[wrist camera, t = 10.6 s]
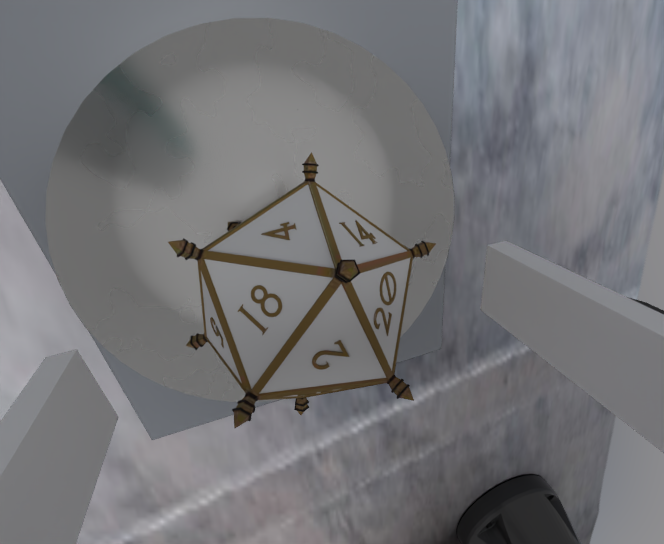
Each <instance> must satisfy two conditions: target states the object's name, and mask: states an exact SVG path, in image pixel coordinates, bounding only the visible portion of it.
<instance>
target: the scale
mask: <svg viewBox="0 0 664 544" xmlns="http://www.w3.org/2000/svg"><path fill="white" fill-rule="evenodd" d="M457 2H458V0H0V179H1V181H2V183H3V184H4V186H5V188H6V190H7V191H8V193H9V195H10V197H11V198H12V200H13V202H14V203H15V205H16V207H17V209H18V210H19V212H20V214H21V215H22V217H23V219H24V221H25V222H26V224H27V226H28V228H29V229H30V231H31V233H32V234H33V236H34V238H35V240H36V241H37V243H38V245H39V246H40V248H41V250H42V252H43V253H44V255H45V257H46V259H47V260H48V262H49V264H50V265H51V267H52V269H53V271H54V272H55V269H54V266H53V262H52V259H51V256H50V253H49V246H48V238H47V231H46V224H45V220H46V192H47V187H48V182H49V177H50V172H51V167H52V162H53V159H54V157H55V154H56V152H57V149H58V147H59V144H60V142H61V139H62V136H63V134H64V131H65V129H66V128H67V126H68V124H69V123H70V121H71V120H72V118H73V116H74V115H75V113H76V112H77V110H78V108H79V107H80V105H81V103H82V102H83V100H84V99H85V98H86V97H87V96H88V95H89V94H90V93H91V92H92V90H93V89H94V88H95V87H96V86H97V85H98V84H99V83H100V81H101V80H102V79H103V78H104V77H105V76H106V75H107V74H108V73H109V72H111V71H112V70H113V69H114V68H116V67H117V66H118V65H120V64H121V63H122V62H123V61H125V60H126V59H127V58H128V57H130V56H131V55H132V54H133V53H135V52H137V51H139V50H140V49H142V48H144V47H146V46H148V45H150V44H151V43H153V42H155V41H157V40H159V39H161V38H163V37H164V36H166V35H169V34H172V33H175V32H178V31H181V30H184V29H187V28H190V27H193V26H195V25H198V24H203V23H209V22H215V21H221V20H227V19H233V18H273V19H280V20H286V21H293V22H299V23H304V24H307V25H310V26H314V27H317V28H320V29H323V30H326V31H329V32H332V33H335V34H337V35H339V36H341V37H343V38H345V39H347V40H349V41H351V42H353V43H355V44H357V45H359V46H361V47H363V48H364V49H365V50H367V51H368V52H370V53H371V54H373V55H374V56H375V57H377V58H378V59H380V60H381V61H383V62H384V63H385V64H387V65H388V66H389V67H390V68H391V69H392V70H393V71H394V72H395V73H396V74H397V75H398V76H399V77H400V78H401V79H402V80H403V81H404V82H406V83H407V85H408V86H409V87H410V89H411V90H412V91H413V92H414V94H415V95H416V96H417V97H418V99H419V100H420V101H421V103H422V104H423V105H424V107H425V109H426V110H427V112H428V114H429V116H430V117H431V119H432V121H433V122H434V124H435V126H436V128H437V131H438V133H439V135H440V138H441V140H442V143H443V145H444V148H445V150H446V154H447V158H448V162H449V166H450V153H451V131H452V110H453V88H454V67H455V45H456V24H457ZM55 274H56V272H55ZM56 276H57V275H56ZM444 282H445V265H444V268H443V271H442V274H441V277H440V279H439V281H438V283H437V285H436V287H435V289H434V291H433V294H432V296H431V297H430V299H429V300H428V302H427V304H426V305H425V307H424V309H423V310H422V312H421V313H420V315H419V316H418V317H417V319H416V320H415V321H414V322H413V324H412V325H411V326H410V328H409V329H408V330H407V331H406V332H405V333H404V334H403V335H402V336H401V337H400V342H399V348H398V355H397V361H396V363H399V362H402V361H405V360H408V359H411V358H414V357H418V356H421V355H424V354H427V353H430V352H433V351H437V350H440V349H441V346H442V325H443V303H444ZM89 333H90V332H89ZM90 334H91V333H90ZM91 336H92V338H93V339H94V341H95V343H96V345H97V346H98V348H99V350H100V351H101V353H102V355H103V357H104V358H105V360H106V362H107V364H108V365H109V367H110V369H111V370H112V372H113V374H114V376H115V377H116V379H117V381H118V382H119V384H120V386H121V388H122V389H123V391H124V393H125V395H126V396H127V398H128V400H129V401H130V403H131V405H132V407H133V408H134V410H135V412H136V413H137V415H138V417H139V419H140V420H141V422H142V424H143V426H144V427H145V429H146V431H147V432H148V434H149V436H150V438H151V439H152V440H155V439H158V438H161V437H164V436H167V435H170V434H174V433H177V432H180V431H183V430H186V429H189V428H193V427H196V426H199V425H202V424H205V423H208V422H212V421H215V420H218V419H221V418H224V417H227V416H231V415H234V412H233V411H232V409H233V408H236V406H237V405H238V403H237V402H227V401H219V400H212V399H206V398H201V397H197V396H193V395H189V394H185V393H182V392H179V391H176V390H174V389H171V388H168V387H165V386H163V385H161V384H159V383H157V382H155V381H153V380H150V379H148V378H146V377H144V376H142V375H141V374H139V373H138V372H136V371H135V370H133V369H132V368H130V367H128V366H127V365H125V364H124V363H122V362H121V361H120V360H119V359H117V358H116V357H115V356H114V355H113V354H111V353H110V352H109V351H108V350H107V349H105V348H104V347H103V346H102V345H101V344H100V343H99V342H98V340H97V339H96V338H95V337H94V336H93V335H92V334H91ZM280 400H281V399H280ZM275 401H278V400H275ZM275 401H264V402H255V408H256V407H259V406H262V405H265V404H269V403H272V402H275Z"/></svg>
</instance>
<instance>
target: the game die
mask: <svg viewBox="0 0 664 544" xmlns="http://www.w3.org/2000/svg"><path fill="white" fill-rule="evenodd" d="M302 165H304V171H302V173H304V176H305V181H304V182H303V183H301V184H300V185H298V186H296V187H295V188H293V189H292V190H290V191H289V192H287V193H286V194H284V195H283V196H281V197H280V198H278V199H277V200H275V201H274V202H272V203H271V204H269V205H268V206H266V207H265V208H263V209H262V210H260V211H259V212H257V213H255V214H254V215H252V216H251V217H249V218H248V219H246V220H245V221H243V222H242V223H240V224H239V223H238V222H228V228H227V230H228V232H227V233H225V234H224V235H222V236H221V237H219V238H218V239H216V240H214V241H213V242H211V243H210V244H208V245H207V246H205V247H204V248H202V249H199V248H197V247H196V244H194V243H192V242H191V243H189V242H188V240H186V239H184V238H183V240H177V241H169V242H168V243H169V244H170V246H171V247H172V248H173V250H174V251H175V253H176V254H177V257H178V258H179V257H180V256H181V257H184V258H185V260H188V259H195V260H197V262H198V272H199V282H200V293H201V303H202V314H203V324H204V334H198V333H197V334H196V335H195V336H193V335H191V338H190V340H189V342H188V343H187V345H186V346H187V347H191V348H194V349H195V350H197V349H198V348H199V347H203V346H204V344H205V343H206V342H208V343H209V344H210V345H211V347H212V348H213V349H214V351H215V352H216V354H217V355H218V356H219V358H220V359H221V360H222V362H223V363H224V364H225V366H226V367H227V369H228V370H229V371H230V373H231V374H232V375H233V377H234V378H235V380H236V381H237V382H238V384H239V385H240V386H241V388H242V389H243V390H244V392H245V393H246V394H245V397H244V398H243V399H242V400H239V401H238V402H237V403H238V405H237V406H236V408H233V409H232V411H233V412H234V426H235V428H236V427H238V426H240V425H241V424H243V423H244V422H246V421H250V420H251V414H252V412H253V413H254V411H255V402H256V401H257V400H270V399H291V398H296V402H295V410H297V411H298V413H299V414H300V415H302V414H303V412H304V411H305V410H306V409H308V408H309V406H308V405H307V403H309V401H308V400H307V398H306V397H311V396H316V395H322V394H327V393H333V392H339V391H344V390H350V389H355V388H361V387H367V386H372V385H378V384H383V383H387V384H389V385H390V387H391V389H392V391H391V392H392V393H393V392H394V393H395V394H396V395H397V398H404V399H409V400H413V401H414V399H413V397H412V394H411V391H410V389H409V386H410V385H406V384H405V383H404V382H403V381H404V380H403V379H401V380H400V379H398V378H397V377H396V376H395V375H394V373H395V367H396V361H397V355H398V348H399V342H400V336H401V330H402V323H403V317H404V311H405V305H406V298H407V292H408V286H409V279H410V273H411V267H412V261H413V258H415V257H421V258H423V256H424V255H427V256H429V253H430V251H431V250H432V249H433V247H434V246H435V245H436V243H429V242H424V241H423V240H422V241H421V243H419V244H417V243H416V244H415V246H414V247H413V248H412V249H408V248H407V247H405V246H404V245H403V244H401V243H400V242H398V241H397V240H396V239H394V238H393V237H391V236H390V235H389V234H387V233H386V232H384V231H383V230H382V229H380V228H379V227H377V226H376V225H375V224H373V223H372V222H370V221H369V220H368V219H366V218H365V217H364V216H362V215H361V214H359V213H358V212H357V211H355V210H354V209H352V208H351V207H350V206H348V205H347V204H345V203H344V202H343V201H341V200H340V199H338V198H337V197H336V196H334V195H333V194H331V193H330V192H329V191H327V190H326V189H324V188H323V187H322V186H320V185H319V184H318V183H316V182H315V177H316V174H318V172H317V166H319V165H318V164H317V163H316V161H315V158H314V156H313V154H312V152H311V154H310V155H309V156H308V158H307V159H306V161H305V162H304V163H303V164H302Z"/></svg>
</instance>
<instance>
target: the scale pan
mask: <svg viewBox="0 0 664 544" xmlns="http://www.w3.org/2000/svg"><path fill="white" fill-rule="evenodd" d="M311 152H312V154H313V156H314V158H315V161H316V163H317V164H318V165H319V166H317V172H318V174H316V177H315V182H316V183H318V184H319V185H320V186H322V187H323V188H324V189H326V190H327V191H329V192H330V193H331V194H333V195H334V196H336V197H337V198H338V199H340V200H341V201H343V202H344V203H345V204H347V205H348V206H350V207H351V208H352V209H354V210H355V211H357V212H358V213H359V214H361V215H362V216H364V217H365V218H366V219H368V220H369V221H370V222H372V223H373V224H375V225H376V226H377V227H379V228H380V229H382V230H383V231H384V232H386V233H387V234H389V235H390V236H391V237H393V238H394V239H396V240H397V241H398V242H400V243H401V244H403V245H404V246H405V247H407V248H408V249H412V248H413V247H414V246H415V244H416V243H417V244H419V243H421V241H422V240H423V241H424V242H429V243H436V245H435V246H434V247H433V249H432V250H431V251H430V253H429V256H427V255H424V256H423V258H421V257H415V258H413V261H412V267H411V273H410V279H409V286H408V292H407V298H406V305H405V311H404V317H403V323H402V330H401V336H402V335H403V334H404V333H405V332H406V331H407V330H408V329H409V328H410V326H411V325H412V324H413V322H414V321H415V320H416V319H417V317H418V316H419V315H420V313H421V312H422V310H423V309H424V307H425V305H426V304H427V302H428V300H429V299H430V297H431V296H432V294H433V291H434V289H435V287H436V285H437V283H438V281H439V279H440V277H441V274H442V271H443V268H444V265H445V263H446V260H447V256H448V252H449V248H450V243H451V239H452V232H453V223H454V190H453V182H452V174H451V169H450V166H449V162H448V158H447V154H446V150H445V148H444V145H443V143H442V140H441V138H440V135H439V133H438V131H437V128H436V126H435V124H434V122H433V121H432V119H431V117H430V116H429V114H428V112H427V110H426V109H425V107H424V105H423V104H422V103H421V101H420V100H419V99H418V97H417V96H416V95H415V94H414V92H413V91H412V90H411V89H410V87H409V86H408V85H407V83H406V82H404V81H403V80H402V79H401V78H400V77H399V76H398V75H397V74H396V73H395V72H394V71H393V70H392V69H391V68H390V67H389V66H388V65H387V64H385V63H384V62H383V61H381V60H380V59H378V58H377V57H375V56H374V55H373V54H371V53H370V52H368V51H367V50H365V49H364V48H363V47H361V46H359V45H357V44H355V43H353V42H351V41H349V40H347V39H345V38H343V37H341V36H339V35H337V34H335V33H332V32H329V31H326V30H323V29H320V28H317V27H314V26H310V25H307V24H304V23H299V22H293V21H286V20H280V19H273V18H233V19H227V20H221V21H215V22H209V23H203V24H198V25H195V26H193V27H190V28H187V29H184V30H181V31H178V32H175V33H172V34H169V35H166V36H164V37H163V38H161V39H159V40H157V41H155V42H153V43H151V44H150V45H148V46H146V47H144V48H142V49H140V50H139V51H137V52H135V53H133V54H132V55H131V56H130V57H128V58H127V59H126V60H125V61H123V62H122V63H121V64H120V65H118V66H117V67H116V68H114V69H113V70H112V71H111V72H109V73H108V74H107V75H106V76H105V77H104V78H103V79H102V80H101V81H100V83H99V84H98V85H97V86H96V87H95V88H94V89H93V90H92V92H91V93H90V94H89V95H88V96H87V97H86V98H85V99H84V100H83V102H82V103H81V105H80V107H79V108H78V110H77V112H76V113H75V115H74V116H73V118H72V120H71V121H70V123H69V124H68V126H67V128H66V129H65V131H64V134H63V136H62V139H61V142H60V144H59V147H58V149H57V152H56V154H55V157H54V159H53V162H52V167H51V172H50V177H49V182H48V187H47V192H46V220H45V224H46V231H47V238H48V246H49V253H50V256H51V259H52V262H53V266H54V269H55V272H56V275H57V279H58V281H59V283H60V285H61V287H62V289H63V291H64V294H65V296H66V298H67V300H68V302H69V304H70V306H71V307H72V309H73V310H74V311H75V313H76V314H77V316H78V317H79V319H80V320H81V322H82V323H83V324H84V326H85V327H86V328H87V330H88V331H89V332H90V333H91V334H92V335H93V336H94V337H95V338H96V339H97V340H98V342H99V343H100V344H101V345H102V346H103V347H104V348H105V349H107V350H108V351H109V352H110V353H111V354H113V355H114V356H115V357H116V358H117V359H119V360H120V361H121V362H122V363H124V364H125V365H127V366H128V367H130V368H132V369H133V370H135V371H136V372H138V373H139V374H141V375H142V376H144V377H146V378H148V379H150V380H153V381H155V382H157V383H159V384H161V385H163V386H165V387H168V388H171V389H174V390H176V391H179V392H182V393H185V394H189V395H193V396H197V397H201V398H206V399H212V400H219V401H227V402H238V401H239V400H242V399H243V398H244V397H245V394H246V393H245V392H244V390H243V389H242V388H241V386H240V385H239V384H238V382H237V381H236V380H235V378H234V377H233V375H232V374H231V373H230V371H229V370H228V369H227V367H226V366H225V364H224V363H223V362H222V360H221V359H220V358H219V356H218V355H217V354H216V352H215V351H214V349H213V348H212V347H211V345H210V344H209V343H208V342H206V343H205V344H204V346H203V347H199V348H198V349H197V350H195V349H194V348H191V347H187V346H186V345H187V343H188V342H189V340H190V338H191V335H193V336H195V335H196V334H197V333H198V334H204V324H203V314H202V303H201V293H200V282H199V272H198V262H197V260H195V259H188V260H185V258H184V257H181V256H180V257H179V258H178V257H177V254H176V253H175V251H174V250H173V248H172V247H171V246H170V244H169V243H168V242H169V241H177V240H183V238H184V239H186V240H188V242H189V243H191V242H192V243H194V244H196V247H197V248H199V249H202V248H204V247H205V246H207V245H208V244H210V243H211V242H213V241H214V240H216V239H218V238H219V237H221V236H222V235H224V234H225V233H227V232H228V230H227V228H228V222H238V223H239V224H240V223H242V222H243V221H245V220H246V219H248V218H249V217H251V216H252V215H254V214H255V213H257V212H259V211H260V210H262V209H263V208H265V207H266V206H268V205H269V204H271V203H272V202H274V201H275V200H277V199H278V198H280V197H281V196H283V195H284V194H286V193H287V192H289V191H290V190H292V189H293V188H295V187H296V186H298V185H300V184H301V183H303V182H304V181H305V176H304V173H302V171H304V165H302V164H303V163H304V162H305V161H306V159H307V158H308V156H309V155H310V154H311ZM401 336H400V337H401ZM275 400H280V399H270V400H257V401H256V402H264V401H275Z"/></svg>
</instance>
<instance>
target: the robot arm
mask: <svg viewBox="0 0 664 544" xmlns="http://www.w3.org/2000/svg"><path fill="white" fill-rule="evenodd" d="M481 311H483V312H484V313H485V314H487V315H488V316H489V317H490V318H492V319H493V320H494V321H496V322H497V323H498V324H499V325H501V326H502V327H503V328H504V329H506V330H507V331H508V332H510V333H511V334H512V335H513V336H515V337H516V338H517V339H519V340H520V341H521V342H522V343H524V344H525V345H526V346H527V347H529V348H530V349H531V350H533V351H534V352H535V353H536V354H538V355H539V356H540V357H542V358H543V359H544V360H545V361H547V362H548V363H549V364H550V365H552V366H553V367H554V368H556V369H557V370H558V371H559V372H561V373H562V374H563V375H565V376H566V377H567V378H568V379H570V380H571V381H572V382H573V383H575V384H576V385H577V386H579V387H580V388H581V389H582V390H584V391H585V392H586V393H587V394H589V395H590V396H591V397H593V398H594V399H595V400H596V401H598V402H599V403H600V404H602V405H603V406H604V407H605V408H607V409H608V410H609V411H610V412H612V413H613V414H614V415H616V416H617V417H618V418H619V419H621V420H622V421H623V422H625V423H626V424H627V425H628V426H630V427H631V428H632V429H633V430H635V431H636V432H637V433H639V434H640V435H641V436H642V437H644V438H645V439H646V440H648V441H649V442H650V443H651V444H653V445H654V446H655V447H656V448H658V449H659V450H660V451H662V452H663V453H664V311H663V310H661V309H659V308H657V307H654V306H652V305H650V304H648V303H645V302H642V301H639V300H635V299H632V298H628V297H625V296H623V295H621V294H619V293H617V292H615V291H612V290H610V289H608V288H606V287H604V286H602V285H600V284H597V283H595V282H593V281H591V280H589V279H587V278H585V277H583V276H580V275H578V274H576V273H574V272H572V271H570V270H568V269H565V268H563V267H561V266H559V265H557V264H555V263H553V262H551V261H548V260H546V259H544V258H542V257H540V256H538V255H536V254H533V253H531V252H529V251H527V250H525V249H523V248H521V247H519V246H516V245H514V244H512V243H510V242H508V241H502V242H498V243H494V244H490V245H487V253H486V263H485V272H484V282H483V291H482V301H481ZM117 420H118V416H117V414H116V412H115V411H114V409H113V407H112V406H111V404H110V403H109V401H108V399H107V398H106V396H105V394H104V393H103V391H102V390H101V388H100V386H99V385H98V383H97V381H96V380H95V378H94V377H93V375H92V373H91V372H90V370H89V368H88V367H87V365H86V364H85V362H84V360H83V359H82V357H81V355H80V354H79V352H78V351H77V350H73V351H69V352H65V353H61V354H57V355H53V356H49V357H46V358H45V359H44V361H43V362H42V363H41V365H40V366H39V368H38V369H37V370H36V372H35V373H34V375H33V376H32V378H31V379H30V380H29V382H28V383H27V385H26V386H25V387H24V389H23V390H22V392H21V393H20V395H19V396H18V397H17V399H16V400H15V402H14V403H13V404H12V406H11V407H10V409H9V410H8V412H7V413H6V414H5V416H4V417H3V419H2V420H1V421H0V544H76V542H77V539H78V536H79V533H80V530H81V527H82V524H83V521H84V518H85V515H86V512H87V509H88V506H89V503H90V500H91V497H92V494H93V491H94V488H95V485H96V482H97V479H98V476H99V473H100V470H101V467H102V465H103V462H104V459H105V456H106V453H107V450H108V447H109V444H110V441H111V438H112V435H113V432H114V429H115V426H116V423H117ZM457 536H458V538H459V540H460V542H461V544H582V543H581V541H580V539H579V537H578V535H577V533H576V531H575V529H574V527H573V525H572V523H571V521H570V520H569V518H568V516H567V514H566V512H565V510H564V508H563V506H562V504H561V502H560V500H559V498H558V496H557V494H556V493H555V492H554V490H553V489H552V488H551V487H550V486H549V485H548V483H547V482H546V481H545V480H544V479H543V478H542V477H540V476H536V475H527V476H522V477H518V478H515V479H512V480H510V481H507V482H505V483H503V484H501V485H499V486H498V487H496V488H494V489H493V490H491V491H489V492H488V493H487V494H485V495H484V496H483V497H481V498H480V499H479V500H478V501H477V502H476V503H474V504H473V505H472V506H471V507H470V508H469V510H468V511H467V512H466V513H465V515H464V516H463V517H462V519H461V521H460V523H459V525H458V528H457Z"/></svg>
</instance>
